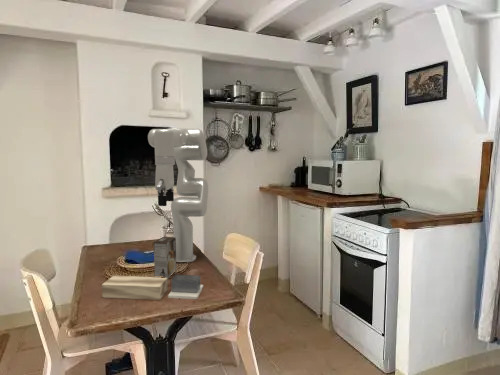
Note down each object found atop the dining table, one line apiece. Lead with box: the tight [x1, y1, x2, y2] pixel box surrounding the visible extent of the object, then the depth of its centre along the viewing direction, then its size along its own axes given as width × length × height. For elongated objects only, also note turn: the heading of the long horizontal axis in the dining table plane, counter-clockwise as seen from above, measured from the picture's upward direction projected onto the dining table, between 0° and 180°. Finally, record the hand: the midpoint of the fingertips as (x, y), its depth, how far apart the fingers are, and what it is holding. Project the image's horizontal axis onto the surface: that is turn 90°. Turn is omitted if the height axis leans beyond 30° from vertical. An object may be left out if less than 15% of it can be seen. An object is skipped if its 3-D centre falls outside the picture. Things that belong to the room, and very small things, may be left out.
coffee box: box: [153, 236, 177, 280], centre depth 148 cm, size 9×6×16 cm
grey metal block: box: [171, 274, 201, 293], centre depth 131 cm, size 5×10×5 cm, turn 85°
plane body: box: [101, 275, 169, 301], centre depth 129 cm, size 9×22×5 cm, turn 85°
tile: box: [167, 284, 204, 300], centre depth 131 cm, size 11×11×1 cm
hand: (166, 203), depth 136 cm, fingers open, 9 cm apart
